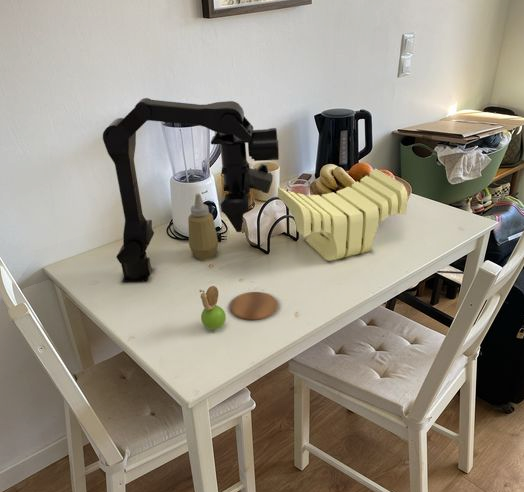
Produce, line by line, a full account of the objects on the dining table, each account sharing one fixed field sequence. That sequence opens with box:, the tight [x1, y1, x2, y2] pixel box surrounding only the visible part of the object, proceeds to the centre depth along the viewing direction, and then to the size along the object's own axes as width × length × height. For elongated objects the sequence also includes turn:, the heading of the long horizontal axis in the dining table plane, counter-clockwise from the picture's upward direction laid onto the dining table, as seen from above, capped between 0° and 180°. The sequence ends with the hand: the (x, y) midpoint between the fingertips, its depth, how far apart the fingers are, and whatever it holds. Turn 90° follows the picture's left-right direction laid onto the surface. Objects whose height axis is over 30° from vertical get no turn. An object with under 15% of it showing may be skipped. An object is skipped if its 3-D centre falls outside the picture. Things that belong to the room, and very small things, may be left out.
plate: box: [230, 291, 278, 321], centre depth 122 cm, size 11×11×1 cm
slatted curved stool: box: [277, 168, 409, 262], centre depth 140 cm, size 30×16×18 cm, turn 112°
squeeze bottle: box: [187, 193, 219, 261], centre depth 139 cm, size 8×8×18 cm
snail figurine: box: [199, 285, 227, 330], centre depth 113 cm, size 5×6×12 cm
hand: (240, 223), depth 127 cm, fingers open, 9 cm apart
